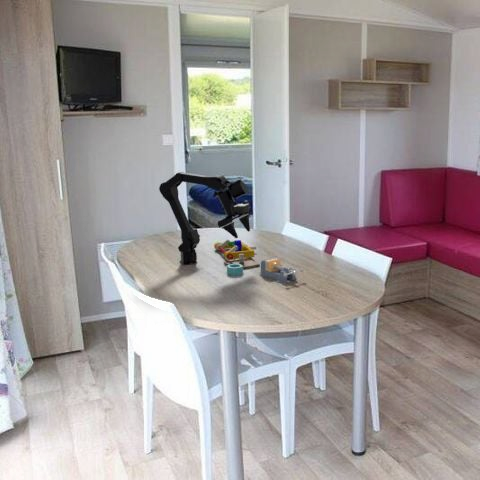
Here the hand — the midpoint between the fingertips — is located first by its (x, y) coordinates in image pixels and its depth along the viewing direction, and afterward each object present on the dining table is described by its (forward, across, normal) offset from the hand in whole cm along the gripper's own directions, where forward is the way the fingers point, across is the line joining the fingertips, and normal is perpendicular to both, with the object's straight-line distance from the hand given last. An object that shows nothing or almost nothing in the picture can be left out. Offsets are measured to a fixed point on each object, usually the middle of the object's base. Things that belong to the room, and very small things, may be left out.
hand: (243, 234), depth 236 cm
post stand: (+13, 0, +9) cm, 15 cm away
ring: (+13, -11, +4) cm, 18 cm away
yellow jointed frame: (+9, +14, +20) cm, 26 cm away
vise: (+22, -6, -14) cm, 27 cm away
